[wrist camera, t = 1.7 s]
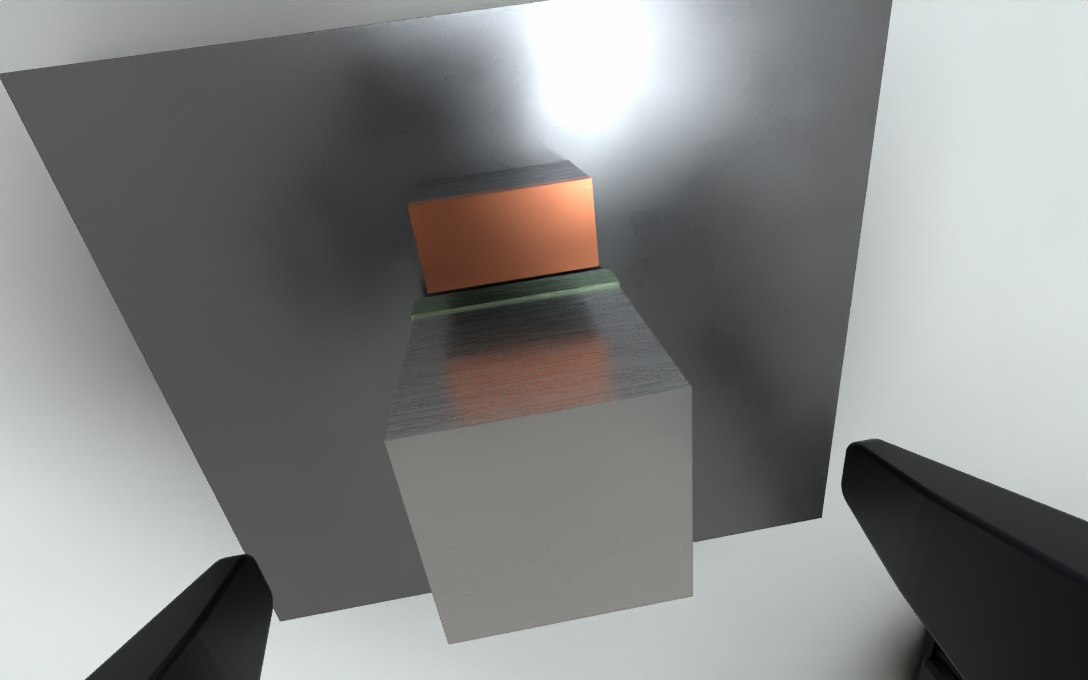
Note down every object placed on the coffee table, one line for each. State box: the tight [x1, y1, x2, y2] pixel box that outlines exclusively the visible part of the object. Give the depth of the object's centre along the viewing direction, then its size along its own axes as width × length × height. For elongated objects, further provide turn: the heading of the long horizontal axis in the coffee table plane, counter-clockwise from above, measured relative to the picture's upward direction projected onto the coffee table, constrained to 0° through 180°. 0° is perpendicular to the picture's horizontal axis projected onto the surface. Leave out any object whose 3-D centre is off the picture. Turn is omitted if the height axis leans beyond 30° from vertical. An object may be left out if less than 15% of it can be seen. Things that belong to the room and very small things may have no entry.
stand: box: [0, 0, 892, 621], centre depth 12 cm, size 16×14×4 cm
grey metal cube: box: [384, 268, 693, 644], centre depth 10 cm, size 4×4×5 cm
